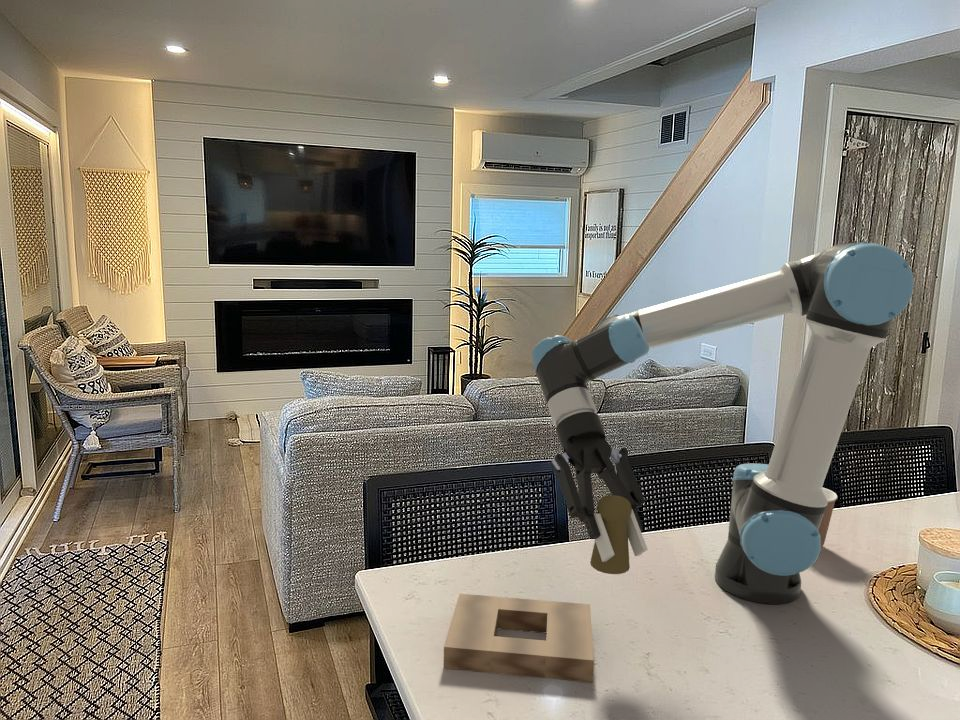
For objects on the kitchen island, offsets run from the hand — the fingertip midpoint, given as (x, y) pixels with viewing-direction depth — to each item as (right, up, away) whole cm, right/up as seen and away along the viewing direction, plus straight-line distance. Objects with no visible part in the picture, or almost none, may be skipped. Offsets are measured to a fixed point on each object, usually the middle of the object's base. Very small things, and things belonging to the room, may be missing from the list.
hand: (624, 555), depth 106 cm
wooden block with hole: (-15, -16, +6) cm, 23 cm away
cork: (-2, -3, +4) cm, 5 cm away
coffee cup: (+48, -10, +46) cm, 67 cm away
